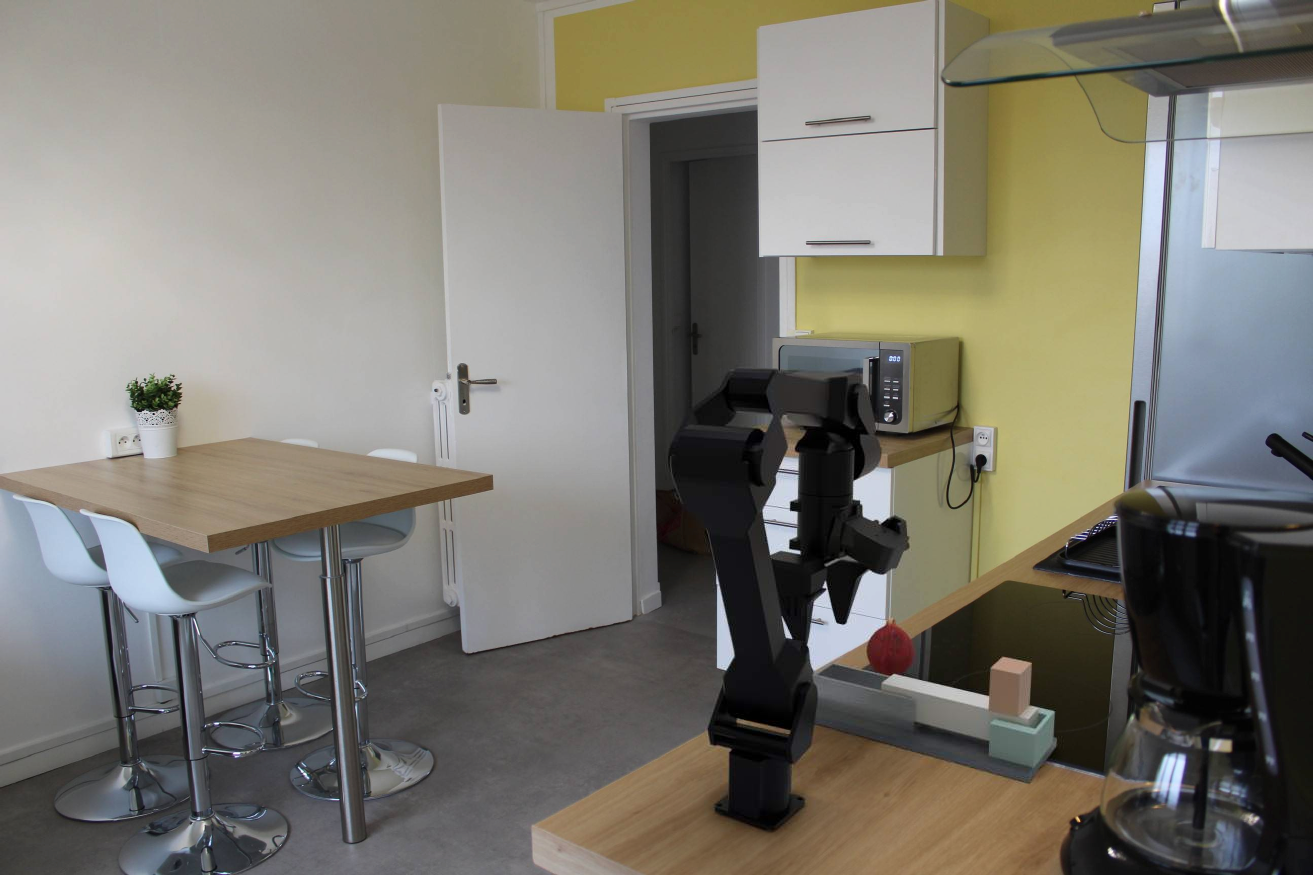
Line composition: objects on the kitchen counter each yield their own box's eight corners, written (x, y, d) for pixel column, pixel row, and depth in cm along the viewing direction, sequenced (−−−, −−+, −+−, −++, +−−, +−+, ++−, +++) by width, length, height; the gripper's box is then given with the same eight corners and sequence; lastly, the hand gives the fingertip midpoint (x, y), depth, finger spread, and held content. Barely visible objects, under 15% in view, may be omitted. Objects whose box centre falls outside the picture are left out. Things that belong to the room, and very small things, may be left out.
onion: (918, 689, 124) (920, 626, 122) (870, 689, 124) (872, 626, 123) (907, 671, 129) (909, 611, 128) (862, 671, 130) (863, 611, 128)
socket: (1033, 767, 101) (1035, 734, 101) (988, 755, 104) (990, 723, 103) (1052, 742, 107) (1054, 711, 106) (1009, 731, 109) (1011, 701, 109)
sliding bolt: (1026, 751, 103) (1030, 676, 102) (879, 713, 112) (881, 644, 111) (1037, 737, 106) (1041, 664, 105) (893, 701, 116) (896, 634, 114)
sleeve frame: (1028, 782, 100) (1030, 739, 99) (796, 717, 115) (796, 680, 115) (1056, 746, 108) (1058, 706, 107) (835, 690, 123) (836, 655, 123)
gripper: (858, 517, 93) (853, 679, 95) (933, 486, 108) (927, 626, 110) (753, 502, 100) (751, 654, 102) (838, 475, 115) (835, 608, 117)
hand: (821, 635), depth 108 cm, fingers open, 9 cm apart
